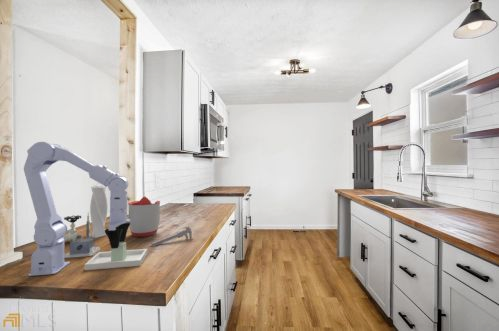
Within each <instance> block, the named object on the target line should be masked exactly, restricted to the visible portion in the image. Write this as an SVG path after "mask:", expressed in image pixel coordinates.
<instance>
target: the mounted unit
mask: <svg viewBox="0 0 499 331" xmlns="http://www.w3.org/2000/svg"><path fill="white" fill-rule="evenodd" d="M95 239H96V238H82V239H76V240H74V241H72V242H69V252H67V253H65V254H64V259H69V258H82V257H94V256H95V255H96V254H97V253H98V252H100V251H101V247H102V246H96V245H95V244H96V242H95V241H96V240H95Z"/></svg>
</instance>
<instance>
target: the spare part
mask: <svg viewBox="0 0 499 331" xmlns="http://www.w3.org/2000/svg"><path fill="white" fill-rule="evenodd" d="M126 250H127V242H126V241H124V242H119V247H118V248H114V249H112V248H111V247H110V251H111V262H112V261H124V260H125V258H126Z"/></svg>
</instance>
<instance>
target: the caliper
mask: <svg viewBox="0 0 499 331" xmlns="http://www.w3.org/2000/svg"><path fill="white" fill-rule="evenodd" d="M192 234H193V232H192V228H191V227H190V226H189V225H188V226H187V227H186V226H185V229H182V230H181V231H177V232H176V233H175V234H172V235H170V236H167V237H163V238H162V239H159V240H156V241H154V242H151V243H150V244H149V245H148V247H149V248H150V247H155V246H158V245H161V244H163V243H166V242H169V241H171V240H173V239H176V238H178V239H181V238H183V237H185V238H186V239H187V240H188V239H189V238H190V239H192V237H193V236H192Z"/></svg>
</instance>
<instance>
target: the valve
mask: <svg viewBox="0 0 499 331" xmlns="http://www.w3.org/2000/svg"><path fill="white" fill-rule="evenodd" d="M79 219H82V215H71V216H65V217H63V220H65V221H67V222H69V223H71V224H70V225H69V226H70V229H69V230H68V232H67V233H66V234H65V235H64V242H69V243H70V242H72V241H74V240H76V239H83V238H82V234H81V233H77V231H78V229H76V222H77V221H78V220H79Z"/></svg>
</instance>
